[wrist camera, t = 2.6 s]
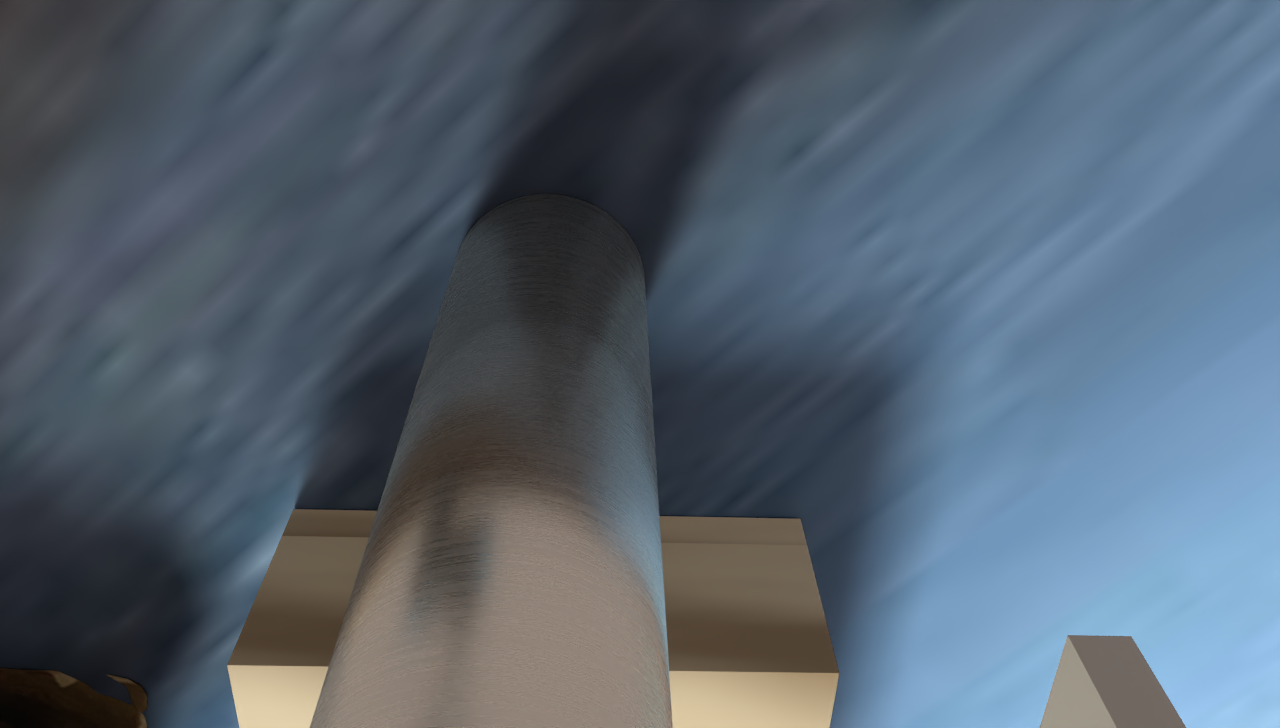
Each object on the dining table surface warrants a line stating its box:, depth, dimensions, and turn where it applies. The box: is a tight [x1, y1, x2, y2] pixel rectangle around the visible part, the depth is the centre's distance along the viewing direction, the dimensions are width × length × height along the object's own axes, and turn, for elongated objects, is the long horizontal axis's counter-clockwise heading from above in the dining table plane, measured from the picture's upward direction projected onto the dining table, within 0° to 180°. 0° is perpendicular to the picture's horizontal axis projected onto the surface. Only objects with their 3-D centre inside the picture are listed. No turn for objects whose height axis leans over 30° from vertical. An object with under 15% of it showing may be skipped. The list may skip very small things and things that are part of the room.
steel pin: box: [310, 194, 673, 728], centre depth 16 cm, size 4×4×14 cm
